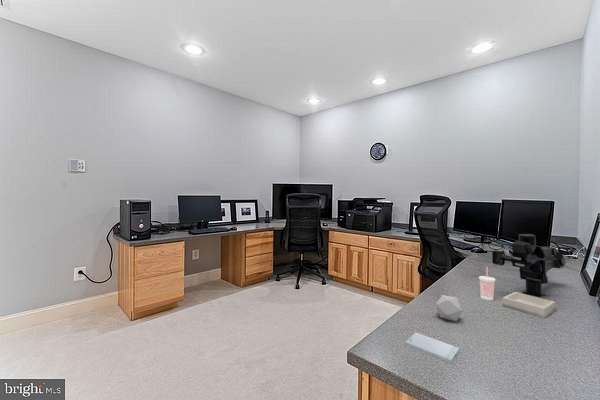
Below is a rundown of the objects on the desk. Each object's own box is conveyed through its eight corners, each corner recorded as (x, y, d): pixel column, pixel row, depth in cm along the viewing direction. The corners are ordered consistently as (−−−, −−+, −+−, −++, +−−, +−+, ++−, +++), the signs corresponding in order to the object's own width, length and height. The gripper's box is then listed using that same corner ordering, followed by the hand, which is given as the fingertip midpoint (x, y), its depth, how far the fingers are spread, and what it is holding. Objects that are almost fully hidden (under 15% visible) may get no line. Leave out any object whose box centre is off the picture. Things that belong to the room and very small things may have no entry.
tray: (515, 299, 115) (515, 291, 115) (555, 310, 104) (555, 301, 104) (502, 306, 108) (502, 297, 108) (543, 318, 97) (544, 308, 97)
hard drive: (405, 341, 78) (451, 359, 70) (416, 331, 84) (459, 347, 75) (405, 347, 78) (451, 365, 70) (416, 336, 84) (459, 352, 75)
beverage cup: (475, 295, 120) (475, 264, 120) (489, 295, 120) (489, 265, 120) (484, 300, 114) (484, 268, 114) (498, 300, 114) (499, 268, 114)
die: (464, 319, 97) (450, 293, 102) (470, 316, 90) (455, 289, 95) (443, 326, 98) (429, 300, 103) (447, 323, 91) (432, 296, 96)
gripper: (500, 237, 125) (484, 242, 117) (553, 244, 109) (538, 251, 101) (500, 259, 126) (484, 266, 118) (552, 270, 110) (537, 279, 102)
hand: (509, 265), depth 110 cm, fingers open, 9 cm apart
